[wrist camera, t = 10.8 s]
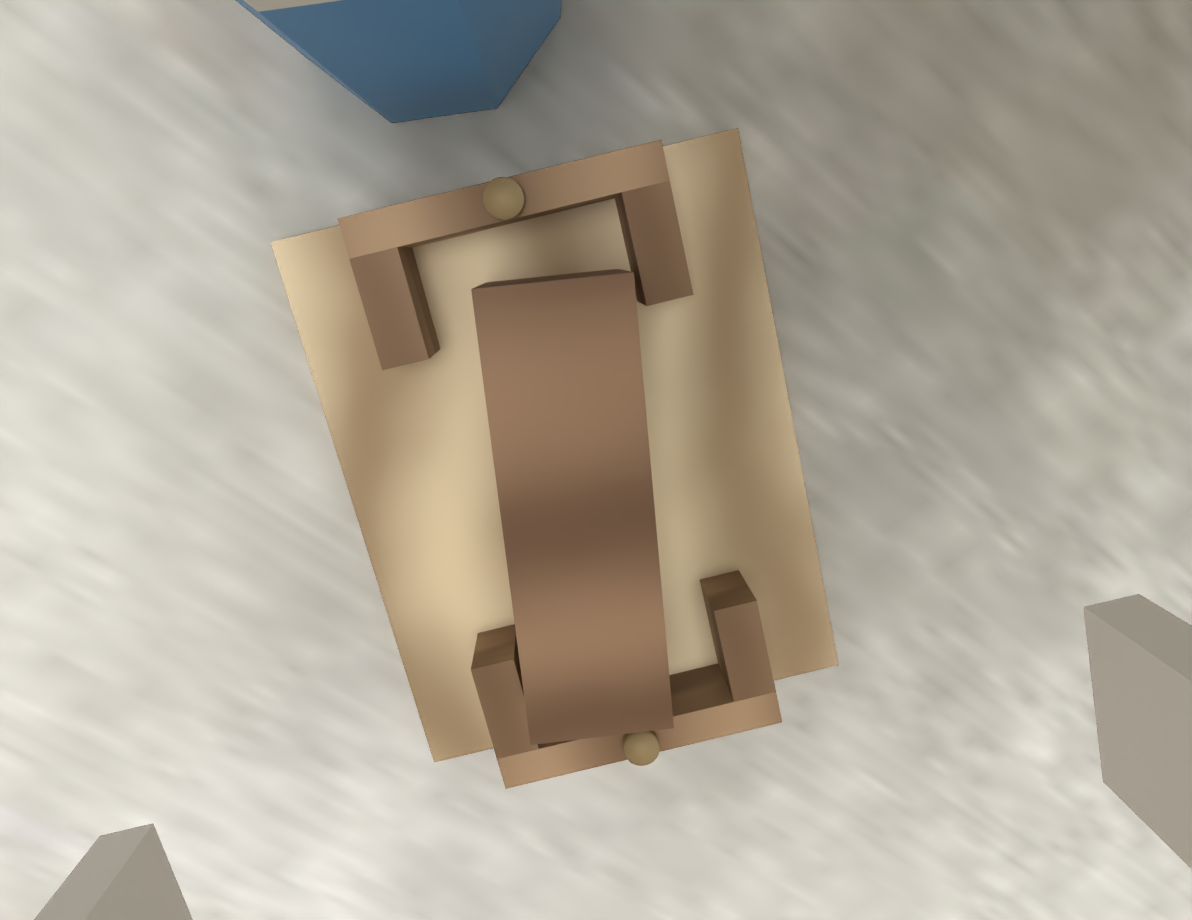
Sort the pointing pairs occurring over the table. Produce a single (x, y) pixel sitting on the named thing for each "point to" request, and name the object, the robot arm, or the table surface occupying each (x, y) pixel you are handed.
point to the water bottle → (416, 48)
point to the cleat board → (674, 419)
